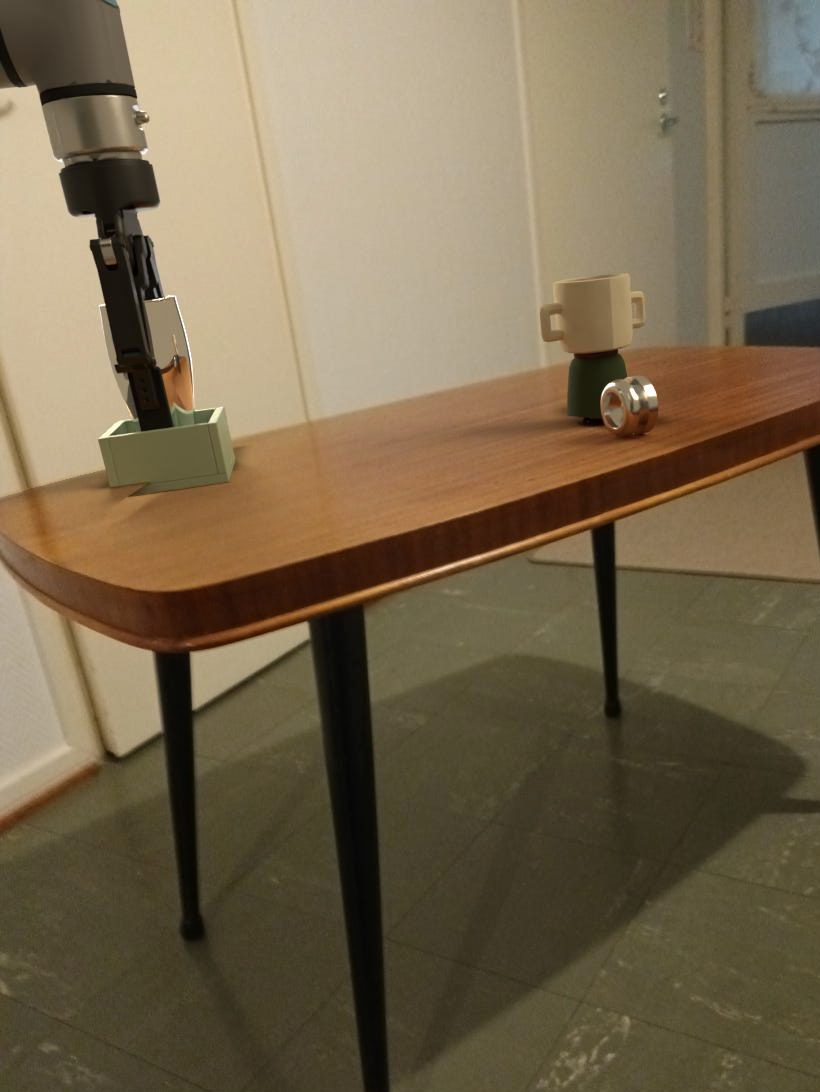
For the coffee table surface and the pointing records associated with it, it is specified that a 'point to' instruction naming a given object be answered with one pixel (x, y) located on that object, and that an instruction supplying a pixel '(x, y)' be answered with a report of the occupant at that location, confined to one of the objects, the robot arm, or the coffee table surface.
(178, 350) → the beer glass
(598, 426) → the coffee table surface
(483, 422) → the coffee table surface
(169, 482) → the green storage bin
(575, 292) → the character mug
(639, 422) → the metal grooved wheel
